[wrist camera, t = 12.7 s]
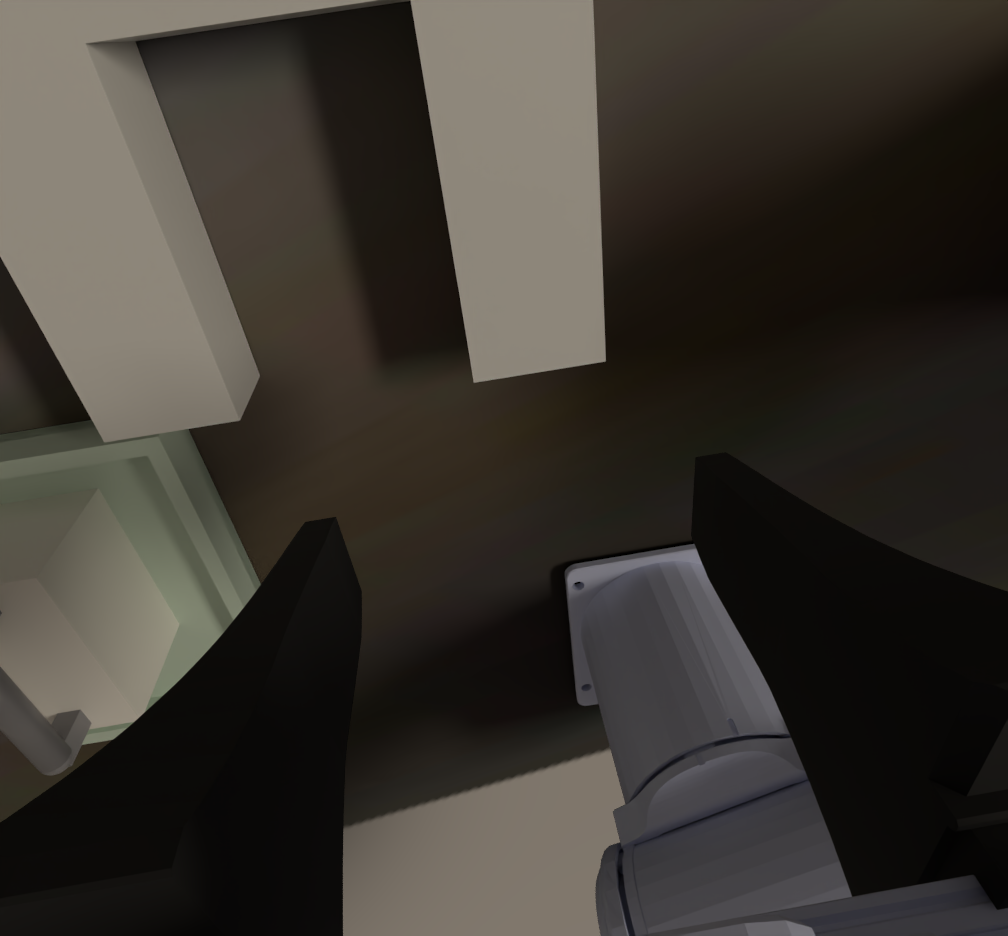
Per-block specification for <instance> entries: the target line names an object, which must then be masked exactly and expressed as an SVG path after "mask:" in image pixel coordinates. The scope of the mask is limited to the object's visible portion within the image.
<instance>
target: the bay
mask: <svg viewBox="0 0 1008 936" xmlns="http://www.w3.org/2000/svg"><path fill="white" fill-rule="evenodd" d="M405 1H411V6H412V12H413V18H414V24H415V30H416V36H417V42H418V48H419V55H420V61H421V67H422V73H423V79H424V85H425V91H426V97H427V103H428V109H429V115H430V121H431V127H432V133H433V139H434V145H435V151H436V157H437V163H438V169H439V175H440V181H441V187H442V193H443V199H444V205H445V211H446V217H447V223H448V229H449V235H450V241H451V248H452V254H453V260H454V266H455V272H456V278H457V284H458V290H459V296H460V302H461V308H462V314H463V320H464V326H465V332H466V338H467V344H468V350H469V356H470V362H471V368H472V374H473V380H474V383H475V382H482V381H488V380H494V379H500V378H506V377H512V376H519V375H525V374H531V373H537V372H543V371H550V370H556V369H562V368H568V367H574V366H580V365H587V364H593V363H599V362H605V361H606V351H605V323H604V295H603V267H602V239H601V211H600V183H599V155H598V127H597V99H596V71H595V43H594V15H593V0H0V257H1V259H2V261H3V262H4V264H5V266H6V268H7V269H8V271H9V273H10V275H11V277H12V278H13V280H14V282H15V284H16V286H17V287H18V289H19V291H20V293H21V294H22V296H23V298H24V300H25V302H26V303H27V305H28V307H29V309H30V311H31V312H32V314H33V316H34V318H35V319H36V321H37V323H38V325H39V327H40V328H41V330H42V332H43V334H44V335H45V337H46V339H47V341H48V343H49V344H50V346H51V348H52V350H53V352H54V353H55V355H56V357H57V359H58V360H59V362H60V364H61V366H62V368H63V369H64V371H65V373H66V375H67V377H68V378H69V380H70V382H71V384H72V385H73V387H74V389H75V391H76V393H77V394H78V396H79V398H80V400H81V401H82V403H83V405H84V407H85V409H86V410H87V412H88V414H89V416H90V418H91V419H92V421H93V423H94V425H95V426H96V428H97V430H98V432H99V434H100V435H101V437H102V439H103V441H104V442H110V441H117V440H123V439H129V438H135V437H141V436H148V435H154V434H160V433H166V432H172V431H179V430H185V429H191V428H197V427H203V426H209V425H216V424H222V423H228V422H234V421H240V419H241V417H242V415H243V413H244V410H245V408H246V406H247V404H248V402H249V399H250V397H251V395H252V393H253V391H254V388H255V386H256V384H257V382H258V379H259V377H260V374H259V372H258V369H257V366H256V364H255V361H254V358H253V356H252V353H251V350H250V348H249V345H248V342H247V340H246V337H245V334H244V331H243V329H242V326H241V323H240V321H239V318H238V315H237V313H236V310H235V307H234V305H233V302H232V299H231V297H230V294H229V291H228V289H227V286H226V283H225V281H224V278H223V275H222V272H221V270H220V267H219V264H218V262H217V259H216V256H215V254H214V251H213V248H212V246H211V243H210V240H209V238H208V235H207V232H206V230H205V227H204V224H203V222H202V219H201V216H200V213H199V211H198V208H197V205H196V203H195V200H194V197H193V195H192V192H191V189H190V187H189V184H188V181H187V179H186V176H185V173H184V171H183V168H182V165H181V163H180V160H179V157H178V154H177V152H176V149H175V146H174V144H173V141H172V138H171V136H170V133H169V130H168V128H167V125H166V122H165V120H164V117H163V114H162V112H161V109H160V106H159V104H158V101H157V98H156V95H155V93H154V90H153V87H152V85H151V82H150V79H149V77H148V74H147V71H146V69H145V66H144V63H143V61H142V58H141V55H140V53H139V50H138V47H137V45H136V42H135V41H141V40H148V39H155V38H161V37H168V36H175V35H182V34H188V33H195V32H202V31H209V30H216V29H222V28H229V27H236V26H243V25H249V24H256V23H263V22H270V21H276V20H283V19H290V18H297V17H304V16H310V15H317V14H324V13H331V12H337V11H344V10H351V9H358V8H364V7H371V6H378V5H385V4H392V3H398V2H405Z"/></svg>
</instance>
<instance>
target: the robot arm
mask: <svg viewBox="0 0 1008 936" xmlns="http://www.w3.org/2000/svg"><path fill="white" fill-rule="evenodd" d="M691 536H692V539H693V542H694V544H690V545H684V546H678V547H672V548H666V549H660V550H654V551H648V552H642V553H636V554H630V555H624V556H619V557H613V558H607V559H601V560H595V561H589V562H583V563H577V564H573V565H571V566H569V567H568V568H567V569H566V570H565V583H566V594H567V604H568V615H569V625H570V636H571V647H572V657H573V668H574V678H575V689H576V697H577V701H578V703H579V704H580V705H583V706H589V705H594V704H599V708H600V711H601V715H602V719H603V723H604V726H605V730H606V734H607V737H608V741H609V745H610V749H611V752H612V756H613V759H614V763H615V767H616V771H617V774H618V778H619V782H620V786H621V789H622V793H623V796H624V800H625V805H623V806H621V807H619V808H617V809H615V810H614V811H613V814H614V818H615V822H616V827H617V830H618V834H619V839H620V843H617V844H613V845H611V846H609V847H608V848H607V849H606V850H605V851H604V854H603V856H602V859H601V867H600V870H599V873H598V876H597V881H596V909H597V916H598V923H599V929H600V934H601V936H1008V592H1007V591H1004V590H1001V589H998V588H995V587H992V586H989V585H986V584H983V583H980V582H977V581H974V580H972V579H969V578H966V577H963V576H961V575H958V574H955V573H953V572H950V571H947V570H945V569H942V568H939V567H936V566H934V565H931V564H929V563H926V562H924V561H922V560H919V559H917V558H914V557H912V556H910V555H907V554H905V553H903V552H901V551H899V550H896V549H894V548H892V547H890V546H887V545H885V544H883V543H881V542H879V541H876V540H874V539H872V538H870V537H868V536H866V535H864V534H862V533H860V532H858V531H856V530H855V529H853V528H851V527H849V526H847V525H845V524H843V523H841V522H840V521H838V520H836V519H834V518H832V517H830V516H828V515H827V514H825V513H823V512H821V511H820V510H818V509H816V508H814V507H813V506H811V505H809V504H808V503H806V502H804V501H803V500H801V499H799V498H798V497H796V496H794V495H793V494H791V493H790V492H788V491H786V490H785V489H783V488H782V487H780V486H778V485H777V484H775V483H774V482H772V481H771V480H769V479H767V478H766V477H764V476H763V475H761V474H760V473H758V472H756V471H755V470H753V469H752V468H750V467H749V466H747V465H746V464H744V463H742V462H741V461H739V460H738V459H736V458H734V457H733V456H731V455H729V454H728V453H726V452H725V453H719V454H713V455H707V456H701V457H696V459H695V477H694V495H693V513H692V531H691ZM576 582H581V583H579V584H574V583H576ZM361 630H362V591H361V588H360V585H359V582H358V580H357V577H356V574H355V571H354V568H353V565H352V562H351V559H350V556H349V554H348V551H347V548H346V545H345V542H344V539H343V536H342V533H341V531H340V528H339V525H338V522H337V519H336V517H333V518H327V519H321V520H315V521H309V522H305V523H304V524H303V526H302V527H301V528H300V530H299V531H298V533H297V534H296V535H295V537H294V538H293V540H292V541H291V542H290V544H289V545H288V547H287V548H286V550H285V551H284V553H283V554H282V556H281V557H280V558H279V560H278V561H277V563H276V564H275V566H274V567H273V568H272V570H271V571H270V573H269V574H268V575H267V577H266V578H265V580H264V581H263V582H262V584H261V585H260V586H259V588H258V589H257V591H256V592H255V593H254V595H253V596H252V597H251V599H250V600H249V601H248V603H247V604H246V605H245V607H244V608H243V609H242V610H241V612H240V613H239V614H238V615H237V617H236V618H235V619H234V620H233V621H232V623H231V624H230V625H229V626H228V628H227V629H226V630H225V631H224V633H223V634H222V635H221V636H220V637H219V639H218V640H217V641H216V642H215V643H214V644H213V645H212V646H211V648H210V649H209V650H208V651H207V652H206V653H205V654H204V655H203V656H202V657H201V658H200V659H199V660H198V662H197V663H196V664H195V665H194V666H193V667H192V668H191V669H190V670H189V671H188V672H187V673H186V674H185V675H184V676H183V677H182V678H181V679H180V680H179V681H178V682H177V683H176V684H175V685H174V686H173V687H172V688H171V689H170V690H169V691H167V692H166V693H165V694H164V695H163V696H162V697H161V698H160V699H159V700H158V701H157V702H155V703H154V704H153V705H152V706H151V707H150V708H149V709H148V710H147V711H146V712H144V713H143V714H142V715H141V716H140V717H139V718H138V719H137V720H136V721H135V722H134V723H132V724H131V725H130V726H129V727H128V728H127V729H125V730H124V731H123V732H122V733H121V734H119V735H118V736H117V737H116V738H114V739H113V740H112V741H111V742H110V743H108V744H107V745H106V746H105V747H104V748H102V749H101V750H100V751H98V752H97V753H96V754H95V755H93V756H92V757H91V758H90V759H88V760H87V761H86V762H84V763H83V764H82V765H81V766H79V767H78V768H77V769H75V770H74V771H73V772H71V773H70V774H69V775H67V776H66V777H65V778H63V779H62V780H61V781H59V782H58V783H56V784H55V785H54V786H52V787H51V788H49V789H48V790H46V791H45V792H44V793H42V794H41V795H39V796H38V797H37V798H35V799H34V800H32V801H31V802H29V803H28V804H27V805H25V806H24V807H22V808H21V809H19V810H18V811H17V812H15V813H14V814H12V815H11V816H9V817H8V818H7V819H5V820H4V821H2V822H1V823H0V936H343V814H344V784H345V760H346V750H347V740H348V732H349V725H350V718H351V711H352V704H353V696H354V689H355V682H356V675H357V667H358V660H359V652H360V644H361Z"/></svg>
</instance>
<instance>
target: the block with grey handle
mask: <svg viewBox="0 0 1008 936" xmlns="http://www.w3.org/2000/svg"><path fill="white" fill-rule="evenodd" d="M178 627H179V623H178V621H177V619H176V618H175V616H174V614H173V613H172V611H171V609H170V608H169V606H168V604H167V603H166V601H165V599H164V598H163V596H162V594H161V592H160V591H159V589H158V587H157V586H156V584H155V582H154V581H153V579H152V577H151V576H150V574H149V572H148V571H147V569H146V567H145V566H144V564H143V562H142V561H141V559H140V557H139V556H138V554H137V552H136V551H135V549H134V547H133V545H132V544H131V542H130V540H129V539H128V537H127V535H126V534H125V532H124V530H123V529H122V527H121V525H120V524H119V522H118V520H117V519H116V517H115V515H114V514H113V512H112V510H111V509H110V507H109V505H108V504H107V502H106V500H105V498H104V497H103V495H102V493H101V492H100V490H99V488H97V489H91V490H85V491H79V492H72V493H66V494H60V495H54V496H48V497H42V498H36V499H30V500H24V501H17V502H11V503H5V504H0V731H1V732H2V733H3V734H4V735H5V736H6V737H7V738H8V739H9V740H10V741H11V742H12V743H13V744H14V745H15V746H16V747H17V748H18V749H19V750H20V751H21V752H22V754H23V755H24V756H25V757H26V758H27V759H28V760H29V761H30V762H31V763H32V764H33V765H34V766H35V767H36V768H37V769H38V770H39V771H40V772H41V773H43V774H45V775H56V774H59V773H61V772H63V771H64V770H65V769H67V768H68V767H69V766H72V764H73V762H74V760H75V758H76V756H77V754H78V752H79V750H80V747H81V745H82V743H83V741H84V739H85V737H86V735H87V732H88V730H89V729H95V728H101V727H107V726H112V725H118V724H124V723H130V722H135V721H136V720H137V719H138V718H139V717H140V716H141V715H142V714H143V713H144V712H145V710H146V707H147V705H148V702H149V700H150V697H151V695H152V692H153V690H154V687H155V685H156V682H157V680H158V677H159V675H160V672H161V670H162V667H163V665H164V662H165V660H166V657H167V655H168V652H169V650H170V647H171V645H172V642H173V639H174V637H175V634H176V632H177V629H178Z"/></svg>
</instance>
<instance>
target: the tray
mask: <svg viewBox="0 0 1008 936" xmlns="http://www.w3.org/2000/svg"><path fill="white" fill-rule="evenodd" d="M97 488H99V490H100V492H101V493H102V495H103V497H104V498H105V500H106V502H107V504H108V505H109V507H110V509H111V510H112V512H113V514H114V515H115V517H116V519H117V520H118V522H119V524H120V525H121V527H122V529H123V530H124V532H125V534H126V535H127V537H128V539H129V540H130V542H131V544H132V545H133V547H134V549H135V551H136V552H137V554H138V556H139V557H140V559H141V561H142V562H143V564H144V566H145V567H146V569H147V571H148V572H149V574H150V576H151V577H152V579H153V581H154V582H155V584H156V586H157V587H158V589H159V591H160V592H161V594H162V596H163V598H164V599H165V601H166V603H167V604H168V606H169V608H170V609H171V611H172V613H173V614H174V616H175V618H176V619H177V621H178V623H179V627H178V629H177V632H176V634H175V637H174V639H173V642H172V645H171V647H170V650H169V652H168V655H167V657H166V660H165V662H164V665H163V667H162V670H161V672H160V675H159V677H158V680H157V682H156V685H155V687H154V690H153V692H152V695H151V697H150V700H149V702H148V705H147V707H146V710H145V712H146V711H147V710H148V709H149V708H150V707H151V706H152V705H153V704H154V703H155V702H157V701H158V700H159V699H160V698H161V697H162V696H163V695H164V694H165V693H166V692H167V691H169V690H170V689H171V688H172V687H173V686H174V685H175V684H176V683H177V682H178V681H179V680H180V679H181V678H182V677H183V676H184V675H185V674H186V673H187V672H188V671H189V670H190V669H191V668H192V667H193V666H194V665H195V664H196V663H197V662H198V660H199V659H200V658H201V657H202V656H203V655H204V654H205V653H206V652H207V651H208V650H209V649H210V648H211V646H212V645H213V644H214V643H215V642H216V641H217V640H218V639H219V637H220V636H221V635H222V634H223V633H224V631H225V630H226V629H227V628H228V626H229V625H230V624H231V623H232V621H233V620H234V619H235V618H236V617H237V615H238V614H239V613H240V612H241V610H242V609H243V608H244V607H245V605H246V604H247V603H248V601H249V600H250V599H251V597H252V596H253V595H254V593H255V592H256V591H257V589H258V588H259V586H260V585H261V584H260V581H259V579H258V577H257V575H256V573H255V571H254V569H253V566H252V564H251V562H250V560H249V558H248V556H247V554H246V551H245V549H244V547H243V545H242V543H241V541H240V539H239V536H238V534H237V532H236V530H235V528H234V526H233V524H232V521H231V519H230V517H229V515H228V513H227V511H226V509H225V506H224V504H223V502H222V500H221V498H220V496H219V494H218V491H217V489H216V487H215V485H214V483H213V481H212V479H211V476H210V474H209V472H208V470H207V468H206V466H205V464H204V461H203V459H202V457H201V455H200V453H199V451H198V449H197V447H196V444H195V442H194V440H193V438H192V436H191V434H190V432H189V429H185V430H179V431H172V432H166V433H160V434H154V435H148V436H141V437H135V438H129V439H123V440H117V441H110V442H104V441H103V439H102V437H101V435H100V434H99V432H98V430H97V428H96V426H95V425H94V423H93V421H92V420H88V421H81V422H75V423H69V424H63V425H57V426H50V427H44V428H38V429H32V430H25V431H19V432H13V433H7V434H1V435H0V504H5V503H11V502H17V501H24V500H30V499H36V498H42V497H48V496H54V495H60V494H66V493H72V492H79V491H85V490H91V489H97ZM132 723H134V722H130V723H124V724H118V725H112V726H107V727H101V728H95V729H89V730H88V732H87V735H86V737H85V739H84V741H83V743H82V745H84V744H89V743H95V742H101V741H107V740H113V739H114V738H116V737H117V736H118V735H119V734H121V733H122V732H123V731H124V730H125V729H127V728H128V727H129V726H130V725H131V724H132Z"/></svg>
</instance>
